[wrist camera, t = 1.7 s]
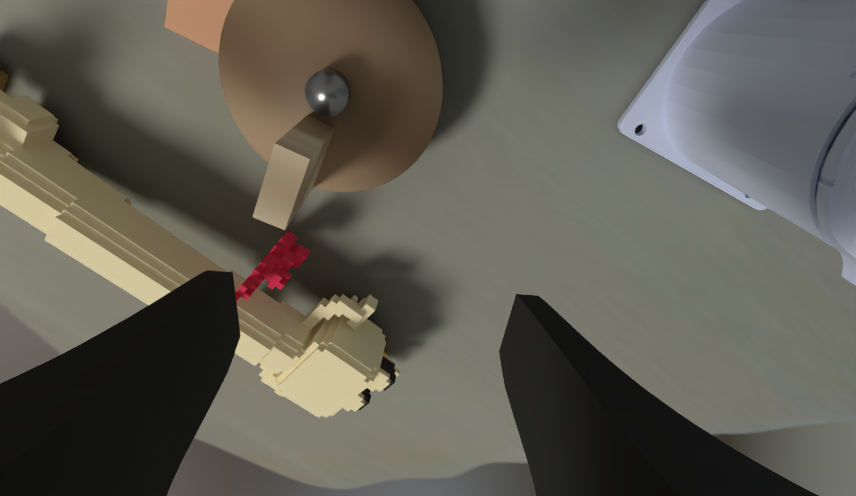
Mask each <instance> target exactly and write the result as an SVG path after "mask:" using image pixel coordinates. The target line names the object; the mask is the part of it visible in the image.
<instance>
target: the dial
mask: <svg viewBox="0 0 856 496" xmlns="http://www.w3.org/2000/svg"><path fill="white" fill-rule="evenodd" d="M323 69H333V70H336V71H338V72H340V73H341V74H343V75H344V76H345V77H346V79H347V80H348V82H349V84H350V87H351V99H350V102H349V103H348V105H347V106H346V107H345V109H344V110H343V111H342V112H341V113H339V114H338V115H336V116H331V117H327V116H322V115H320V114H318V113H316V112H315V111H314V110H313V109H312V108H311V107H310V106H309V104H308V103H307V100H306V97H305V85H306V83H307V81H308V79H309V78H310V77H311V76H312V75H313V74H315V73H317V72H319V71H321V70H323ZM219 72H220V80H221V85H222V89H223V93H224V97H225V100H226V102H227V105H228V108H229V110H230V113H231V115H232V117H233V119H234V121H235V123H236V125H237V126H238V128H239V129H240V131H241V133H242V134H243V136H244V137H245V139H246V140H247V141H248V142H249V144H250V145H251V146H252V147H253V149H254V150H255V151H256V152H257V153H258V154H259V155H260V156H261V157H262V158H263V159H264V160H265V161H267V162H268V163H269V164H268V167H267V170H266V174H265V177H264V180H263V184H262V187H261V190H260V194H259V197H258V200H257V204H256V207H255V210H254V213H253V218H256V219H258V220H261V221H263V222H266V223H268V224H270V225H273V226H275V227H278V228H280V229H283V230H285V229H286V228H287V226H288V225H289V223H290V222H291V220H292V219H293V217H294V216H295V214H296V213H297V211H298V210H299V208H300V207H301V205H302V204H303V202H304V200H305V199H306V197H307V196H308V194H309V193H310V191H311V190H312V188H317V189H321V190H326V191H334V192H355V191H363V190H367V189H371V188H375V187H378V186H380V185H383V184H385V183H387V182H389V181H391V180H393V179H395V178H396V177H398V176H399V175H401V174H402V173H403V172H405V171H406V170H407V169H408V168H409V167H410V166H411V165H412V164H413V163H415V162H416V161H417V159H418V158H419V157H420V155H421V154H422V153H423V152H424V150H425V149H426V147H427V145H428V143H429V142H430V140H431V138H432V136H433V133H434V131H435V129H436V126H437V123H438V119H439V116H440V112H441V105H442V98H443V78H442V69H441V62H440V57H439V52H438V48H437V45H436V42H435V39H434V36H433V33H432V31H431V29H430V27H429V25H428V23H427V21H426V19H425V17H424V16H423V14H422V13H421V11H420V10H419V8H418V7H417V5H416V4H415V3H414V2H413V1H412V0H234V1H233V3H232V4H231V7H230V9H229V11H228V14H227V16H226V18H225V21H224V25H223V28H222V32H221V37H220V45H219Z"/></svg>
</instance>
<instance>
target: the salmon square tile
mask: <svg viewBox="0 0 856 496" xmlns="http://www.w3.org/2000/svg"><path fill="white" fill-rule="evenodd" d="M233 1H234V0H168V5H167V12H166V19H165V26H164V27H165V28H167V29H169V30H172V31H174V32H176V33H178V34H180V35H182V36H184V37H186V38H188V39H190V40H192V41H194V42H196V43H198V44H200V45H202V46H204V47H206V48H209V49H211V50H213V51H215V52H217V53H219V45H220V37H221V32H222V28H223V25H224V21H225V18H226V16H227V14H228V11H229V9H230V7H231V4H232V3H233Z"/></svg>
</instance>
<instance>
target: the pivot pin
mask: <svg viewBox="0 0 856 496" xmlns="http://www.w3.org/2000/svg"><path fill="white" fill-rule="evenodd" d="M305 97H306V100H307V103H308V104H309V106H310V107H311V108H312V109H313V110H314V111H315V112H316V113H318V114H320V115H322V116H327V117H331V116H336V115H338V114H339V113H341V112H342V111H343V110H344V109H345V107H346V106H347V105H348V103H349V102H350V99H351V87H350V84H349V82H348V80H347V79H346V77H345V76H344V75H343V74H341V73H340V72H338V71H336V70H333V69H323V70H321V71H319V72H317V73H315V74H313V75H312V76H311V77H310V78H309V79H308V81H307V83H306V85H305Z"/></svg>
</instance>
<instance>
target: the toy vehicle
mask: <svg viewBox="0 0 856 496" xmlns="http://www.w3.org/2000/svg"><path fill="white" fill-rule="evenodd" d="M0 67H1V65H0ZM7 78H8V74H6V73H4V72H3V71H1V70H0V205H1V206H3V207H4V208H6V209H8V210H9V211H11V212H12V213H14V214H15V215H17V216H19V217H20V218H22V219H23V220H25V221H27V222H28V223H30V224H31V225H33V226H34V227H36V228H38V229H39V230H41V231H42V232H44V233H46V234H47V236H46V238H45V240H46V241H47V242H49V243H50V244H52V245H53V246H55V247H57V248H58V249H60V250H61V251H63V252H65V253H66V254H68V255H69V256H71V257H73V258H74V259H76V260H77V261H79V262H81V263H82V264H84V265H85V266H87V267H89V268H90V269H92V270H93V271H95V272H96V273H98V274H100V275H101V276H103V277H104V278H106V279H108V280H109V281H111V282H112V283H114V284H116V285H117V286H119V287H120V288H122V289H124V290H125V291H127V292H128V293H130V294H132V295H133V296H135V297H136V298H138V299H139V300H141V301H143V302H144V303H146V304H147V305H150V304H152V303H153V302H155V301H157V300H158V299H160V298H162V297H163V296H165V295H166V294H168V293H170V292H171V291H173V290H174V289H176V288H178V287H179V286H181V285H182V284H184V283H186V282H187V281H189V280H191V279H192V278H194V277H196V276H197V275H199V274H201V273H203V272H204V271H206V270H211V271H223V272H226V271H225V270H224V269H222V268H221V267H219V266H218V265H216V264H215V263H213V262H212V261H210V260H209V259H208V258H206V257H205V256H203V255H202V254H200V253H199V252H197V251H196V250H195V249H193V248H192V247H190V246H189V245H187V244H186V243H184V242H183V241H182V240H180V239H179V238H177V237H176V236H174V235H173V234H171V233H170V232H168V231H167V230H166V229H164V228H163V227H161V226H160V225H158V224H157V223H155V222H154V221H153V220H151V219H150V218H148V217H147V216H145V215H144V214H142V213H141V212H139V211H138V210H137V209H135V208H134V207H132V206H131V203H132V202H131V201H130V200H129V199H128V198H127V197H126V196H124V195H123V194H121V193H120V192H119V191H117V190H116V189H114V188H113V187H111V186H110V185H108V184H107V183H106V182H104V181H103V180H101V179H100V178H98V177H97V176H95V175H94V174H93V173H91V172H90V171H88V170H87V169H85V168H84V167H82V166H81V165H80V164H78V163H77V162H78V160H79V159H77V158H76V157H75V156H74V155H72V153H70V152H69V151H67V150H66V149H65V148H63V147H62V146H60V145H59V144H57V143H56V142H55V141H53V139H54V136H55V134H56V132H57V129H58V127H59V125H58V124H57V122H58V119H57V118H55V117H54V115H53V114H51V113H50V112H49V111H47V110H46V109H44V108H43V107H42V106H40V105H39V104H37V103H36V102H35V101H33V100H32V99H30V98H29V97H28V96H26V97H14V98H12V97H10V96H9V95H7V94H6V93H4V92H3V90H4V87H5V84H6V81H7ZM297 239H298V238H297V237H296V236H295V235H293V234H292V233H291V232H290V231H287V232H286V234H285V235H284V236H283V237H282V238H281V239H280V240H279V242H278V243H277V244H276V245H275V246H274V248H273V249H272V250H271V251H270V252H269V253H268V254H267V256H266V257H265V258H264V259H263V260H262V261H261V262H260V264H259V265H258V266H257V267H256V268H255V269H254V271H253V272H252V273H251V274H250V276H249V277H248V278H247V279H246V280H245V279H244V278H242V277H241V276H240V275H238V274H237V273H235V272H234V271H232V270H231V271H230V272H233V278H234V286H235V294H236V302H237V310H238V319H239V327H240V335H241V336H240V339H239V342H238V345H237V348H236V351H235V354H237V355H238V356H240V357H242V358H243V359H245V360H246V361H248V362H249V363H251V364H253V365H254V366H256V365H257V363H258V362H259V363H260V364H261V365H260V368H262V370H261V372H260V374H259V376H261V377H262V378H261V381H262V382H264V383H265V384H267V385H269V386H270V387H272V388H273V389H275V391H274V392H275V393H277V394H278V395H280V396H281V397H283V396H284V397H286V398H288V399H289V400H291V401H293V402H294V403H296V404H297V405H299V406H301V407H302V408H304V409H305V410H307V411H309V412H310V413H312V414H313V415H315V416H317V417H318V418H319V417H321V416H324V417H325V418H327V417H328V416H329V415H331V416H333V415H334V414H335V413H337V412H338V411H339V410H340V409H341V408H344V409H345V410H347V411H349V410H351V409H352V410H353V411H357V410H358V409H359V410H361V409H362V408H363V407H365V406H366V405H367V404H368V403H369V402H370V398H371V395H370V394H369V393H370V390H371V391H374V390H375V389H376V390H377V391H382V390H386V389H387V388H389V387H390V386H391V385H392V384H394V383H395V378H396V377H397V376H398V375H399V374H400V370H398V369H397V368H395V367H394V366H395V364H394V363H393V361H391V360H390V359H388V355H387V354H386V353H384V349H385V345H386V341H385V337H386V336H385V335H383V334H382V329H381V328H379V327H378V326H376V325H375V324H374V323H372V322H371V321H370V320H368V319H367V318H368V317H369V316H370V315H371V314H372V313H373V312H374V311H375V310H376V307H377V304H378V300H377V299H375V298H374V297H373V296H371V295H369V296H368V297H367V298H363V299H362V300H361V301H360V302H359V303H357V302H356V301H357V300H358V297H356V296H355V295H354V296H353V297H352V298H351V299H349V298H348V297H346V296H345V295H344V294H343V295H342V296H341V297H338V296H337V295H336V294H335V295H334V296H333V297H332V298H331V299H330V300H329V301H328V300H327V299H326V298H323V299H322V300H321V301H320V302H319V303H318V304H317V305H316V306H315V307H314V308H313V309H312V311H311V312H310V313H309V314H308V315H307V316H306V317H305V316H304V315H303V314H301V313H300V312H298V311H297V310H295V309H294V308H292V307H291V306H290V305H288V304H287V303H285V302H284V301H281V302H280V303H278V302H277V301H276V300H274V299H273V298H271V297H270V296H268V295H267V294H265V293H264V292H263V291H261V290H260V289H258V288H257V287H258V286H259V285H260V284H261V283H262V281H263V280H264V279H265V280H267V281H268V282H270V283H269V284H268V285H267V286H268V287H269V288H271V289H273V288H274V287H277V288H278V289H282V288H283V287H284V285H285V284H286V283H287V281H288V280H289V279H290V278H291V276H292V275H291V274H290V273H288V272H287V271H288V270H289V269H290V268H291V267H292V266H293V267H295V268H296V269H297V268H298V267H299V266H300V265H301V264H302V262H303V261H304V260H305V259H306V258H307V257H308V255H309V254H310V251H309V250H307V249H306V248H305V247H303V246H302V245H298V244H297V243H296V242H295V241H296V240H297Z"/></svg>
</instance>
